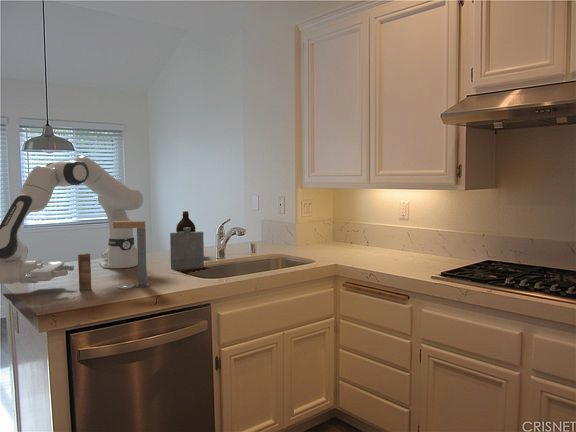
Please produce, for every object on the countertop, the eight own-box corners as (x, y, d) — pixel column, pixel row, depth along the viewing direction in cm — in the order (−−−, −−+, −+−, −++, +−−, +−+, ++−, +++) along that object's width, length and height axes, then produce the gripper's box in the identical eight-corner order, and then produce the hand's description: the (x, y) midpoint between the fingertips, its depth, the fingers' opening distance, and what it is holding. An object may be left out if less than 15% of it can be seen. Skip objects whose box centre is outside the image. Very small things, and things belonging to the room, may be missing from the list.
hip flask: (203, 266, 233) (202, 226, 231) (204, 267, 229) (204, 227, 227) (170, 268, 228) (169, 227, 226) (171, 270, 224) (170, 228, 222)
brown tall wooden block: (77, 289, 185) (76, 254, 184) (89, 287, 188) (88, 253, 187) (81, 291, 182) (80, 255, 181) (93, 289, 185) (91, 254, 184)
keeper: (114, 289, 186) (112, 222, 183) (117, 285, 193) (115, 221, 190) (148, 287, 188) (146, 222, 186) (149, 283, 195) (148, 220, 193)
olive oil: (199, 254, 269) (198, 210, 267) (189, 257, 259) (188, 212, 257) (183, 253, 272) (182, 210, 270) (173, 256, 262) (172, 211, 260)
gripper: (22, 269, 171) (62, 267, 173) (40, 259, 191) (76, 257, 193) (23, 286, 171) (63, 284, 174) (41, 274, 191) (77, 273, 194)
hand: (70, 270), depth 184 cm, fingers open, 8 cm apart
